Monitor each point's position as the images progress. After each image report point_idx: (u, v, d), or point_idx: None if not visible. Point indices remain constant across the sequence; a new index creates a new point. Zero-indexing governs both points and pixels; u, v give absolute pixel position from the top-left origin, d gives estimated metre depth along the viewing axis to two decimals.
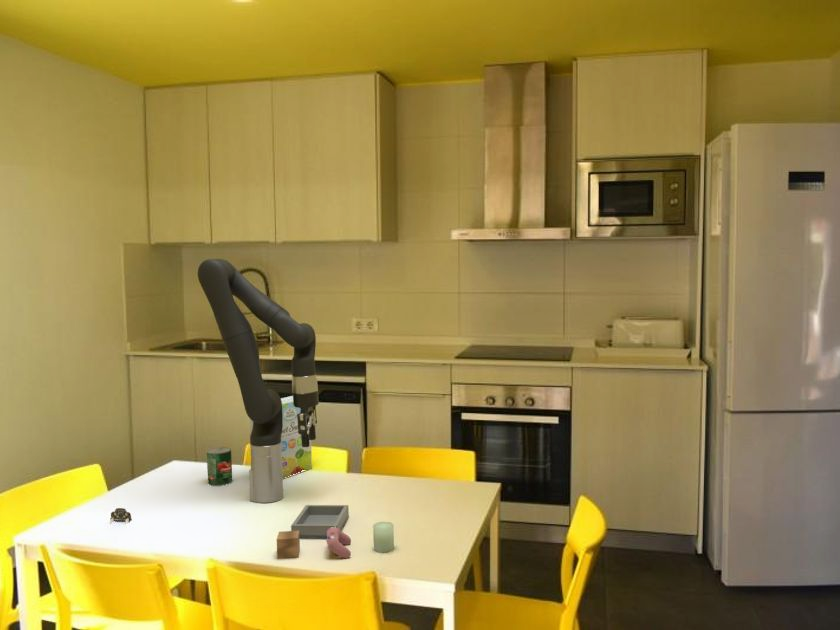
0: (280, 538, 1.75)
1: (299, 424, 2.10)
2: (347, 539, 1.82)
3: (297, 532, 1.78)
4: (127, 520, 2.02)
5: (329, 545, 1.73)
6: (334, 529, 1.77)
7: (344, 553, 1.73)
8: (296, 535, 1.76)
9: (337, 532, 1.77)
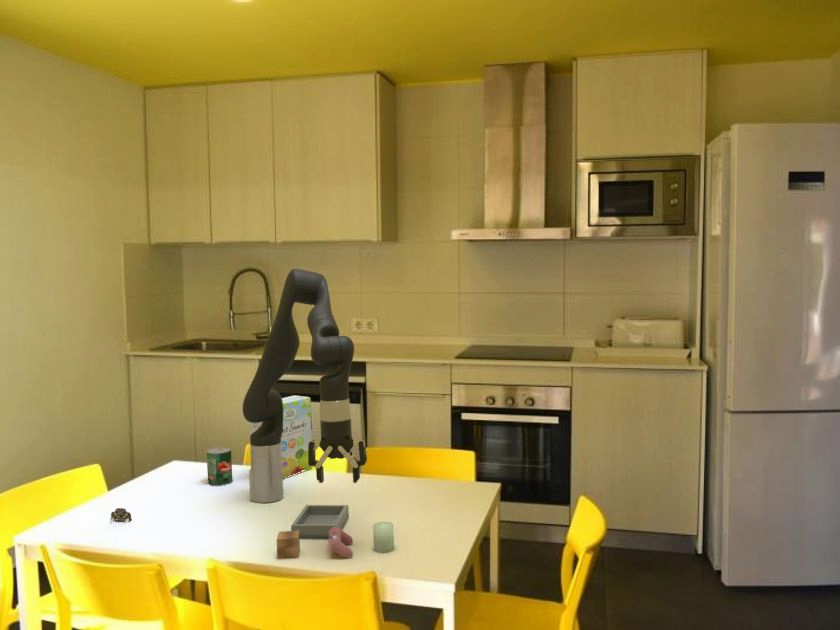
0: (280, 538, 1.75)
1: (364, 453, 1.76)
2: (349, 539, 1.82)
3: (297, 532, 1.78)
4: (127, 520, 2.02)
5: (331, 545, 1.73)
6: (336, 529, 1.77)
7: (346, 552, 1.73)
8: (296, 535, 1.76)
9: (339, 532, 1.77)
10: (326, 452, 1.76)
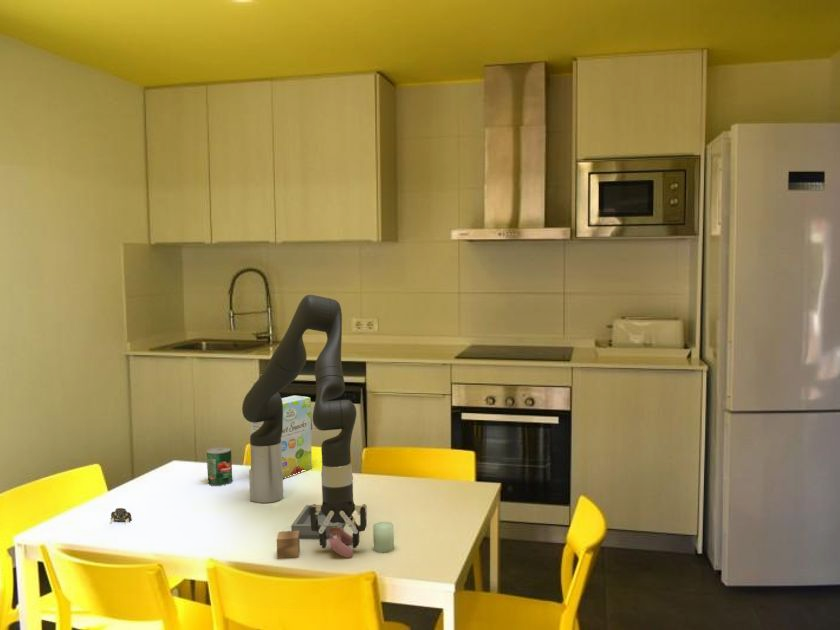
0: (280, 538, 1.75)
1: (365, 519, 1.76)
2: (349, 539, 1.82)
3: (297, 532, 1.78)
4: (127, 520, 2.02)
5: (331, 545, 1.73)
6: (336, 529, 1.78)
7: (347, 552, 1.73)
8: (296, 535, 1.76)
9: (339, 531, 1.77)
10: (328, 517, 1.76)
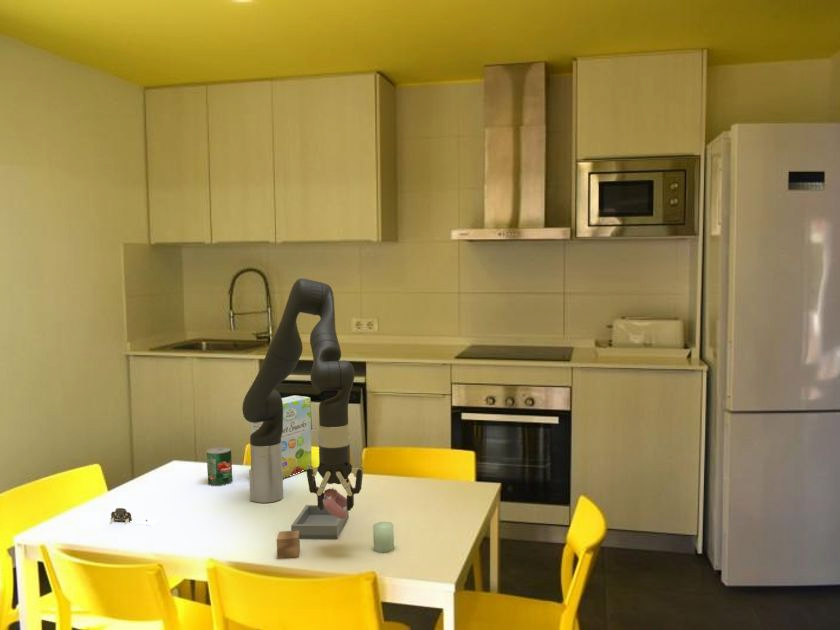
0: (280, 538, 1.75)
1: (360, 481, 1.75)
2: (344, 501, 1.81)
3: (297, 532, 1.78)
4: (127, 520, 2.02)
5: (325, 505, 1.73)
6: (331, 490, 1.77)
7: (340, 513, 1.73)
8: (296, 535, 1.76)
9: (334, 493, 1.76)
10: (325, 478, 1.75)
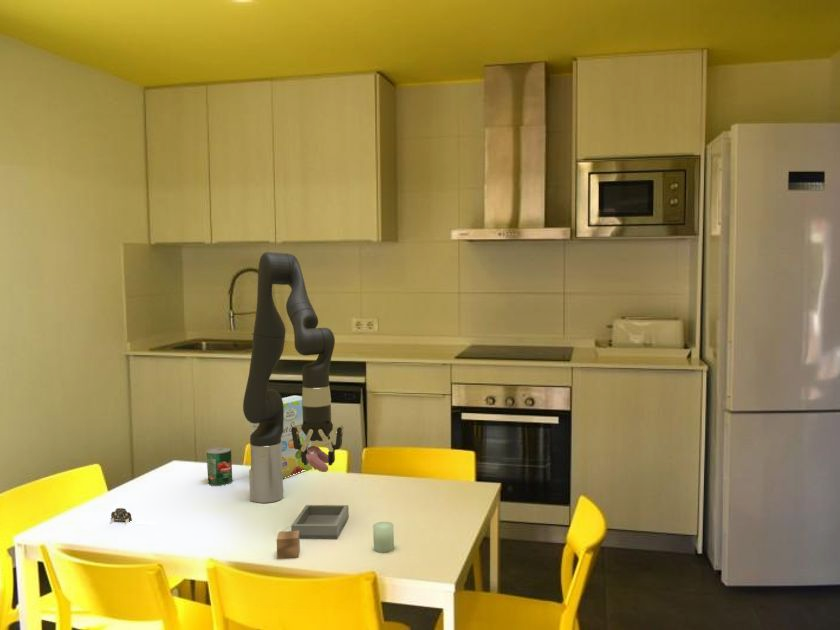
0: (280, 538, 1.75)
1: (340, 438, 1.92)
2: (327, 458, 1.97)
3: (297, 532, 1.78)
4: (127, 520, 2.02)
5: (308, 459, 1.89)
6: (314, 446, 1.93)
7: (322, 467, 1.89)
8: (296, 535, 1.76)
9: (316, 449, 1.92)
10: (308, 435, 1.91)
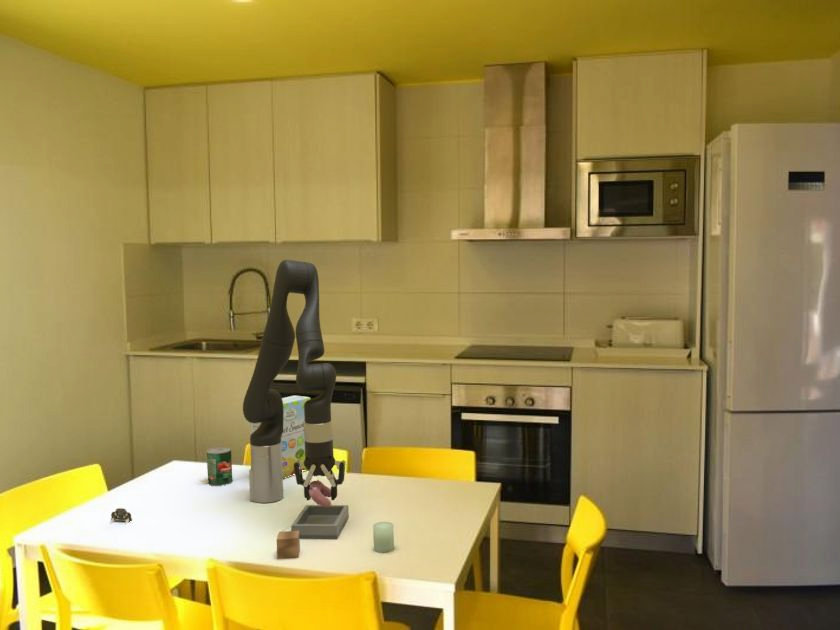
0: (280, 538, 1.75)
1: (343, 473, 1.92)
2: (329, 492, 1.98)
3: (297, 532, 1.78)
4: (127, 520, 2.02)
5: (311, 495, 1.89)
6: (316, 481, 1.94)
7: (325, 502, 1.90)
8: (296, 535, 1.76)
9: (319, 484, 1.93)
10: (310, 471, 1.92)
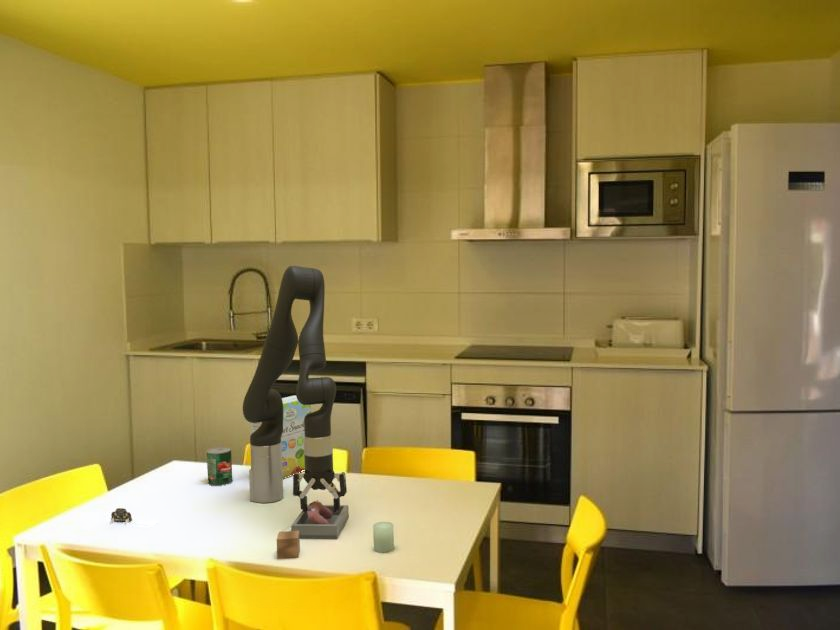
0: (280, 538, 1.75)
1: (344, 485, 1.92)
2: (329, 512, 1.98)
3: (297, 532, 1.78)
4: (127, 520, 2.02)
5: (309, 516, 1.90)
6: (315, 503, 1.94)
7: None
8: (296, 535, 1.76)
9: (318, 505, 1.93)
10: (309, 484, 1.92)
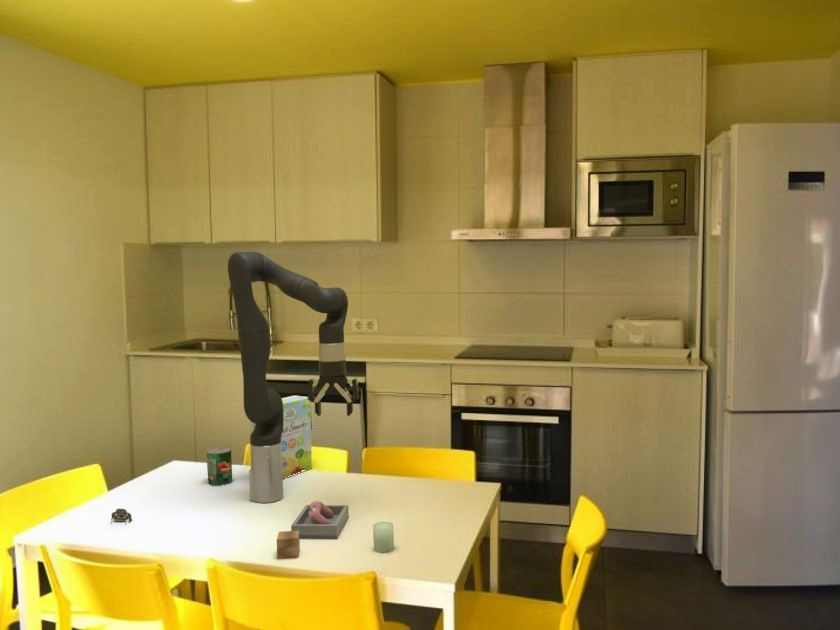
0: (280, 538, 1.75)
1: (357, 389, 2.02)
2: (330, 512, 1.98)
3: (297, 532, 1.78)
4: (127, 521, 2.02)
5: (311, 516, 1.90)
6: (317, 502, 1.94)
7: None
8: (296, 535, 1.76)
9: (319, 505, 1.94)
10: (324, 388, 2.02)
